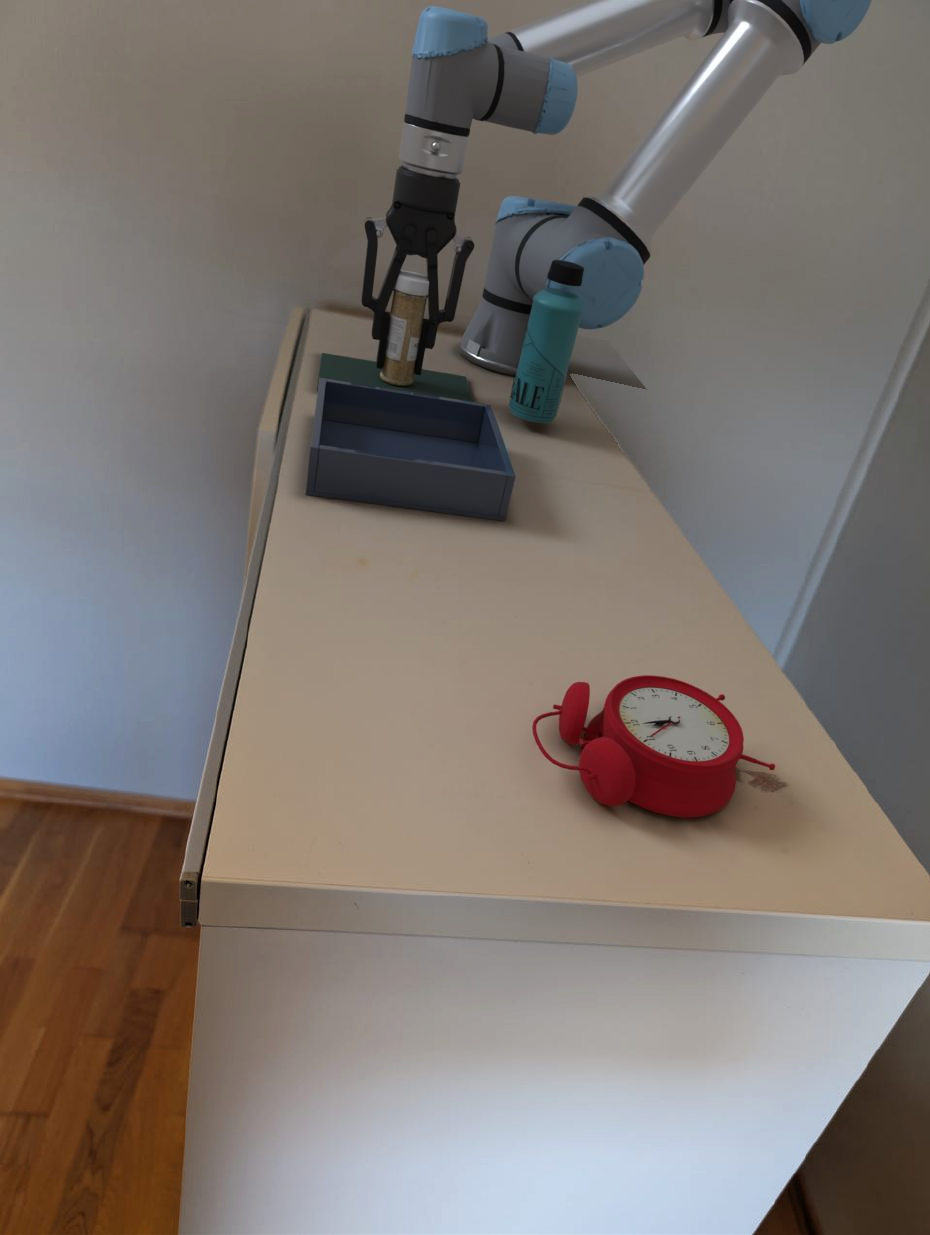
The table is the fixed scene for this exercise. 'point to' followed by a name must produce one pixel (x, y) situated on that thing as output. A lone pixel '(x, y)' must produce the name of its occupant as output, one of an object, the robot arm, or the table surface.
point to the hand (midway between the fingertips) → (398, 368)
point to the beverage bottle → (547, 346)
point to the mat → (370, 375)
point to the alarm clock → (654, 745)
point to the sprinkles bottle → (405, 328)
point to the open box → (408, 451)
